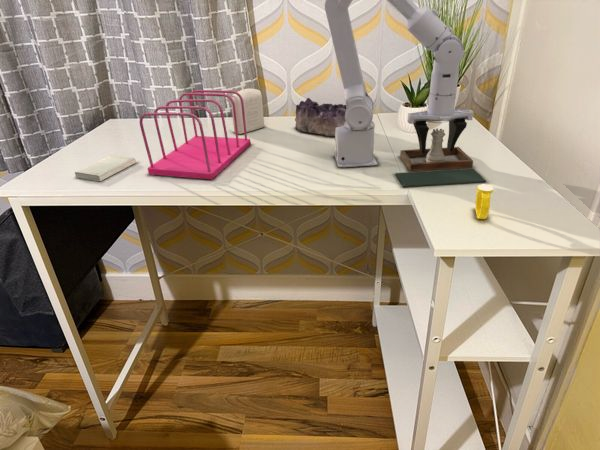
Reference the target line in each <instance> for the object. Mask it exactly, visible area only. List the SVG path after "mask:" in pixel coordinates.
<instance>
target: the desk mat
mask: <svg viewBox="0 0 600 450" xmlns="http://www.w3.org/2000/svg"><path fill="white" fill-rule="evenodd" d="M395 176H396V178H397V179H398V181H399V183H400V185H401V186H402V188H415V187H416V188H417V187H432V186H433V187H434V186H446V185H447V186H450V185H464V184H480V183H481V184H484V183H486V182H487V181H486V179H485V178H484V177H483V176H481V174H479V172H477V171H476V170H475V168H460V169H444V170H428V171H411V172H410V171H409V172H395Z"/></svg>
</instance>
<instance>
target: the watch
mask: <svg viewBox="0 0 600 450" xmlns="http://www.w3.org/2000/svg"><path fill="white" fill-rule="evenodd" d="M494 189H495V188H494V187H493V185H491V184H487V183H481V184H479V185H477V188H476V197H475V213H476V218H477V219H478V220H486V219H487V218H488V216H489V213H490V206H491V194H493V193H494Z"/></svg>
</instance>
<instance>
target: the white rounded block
mask: <svg viewBox="0 0 600 450" xmlns="http://www.w3.org/2000/svg"><path fill="white" fill-rule="evenodd" d="M237 92H238V93H239V94H240V95H241V96H242V99H243V103H244V112H245V122H246V133H250V132H252V131H256V130H259V129H262V128H264V127H265V117H264V116H265V115H264V106H263V105H264V103H263V94H262V92H261V90H259V89H257V88H244V89H241V90H238V91H237ZM230 97H231V98H232V99H233V101H234V103H235V110H236V120H237V130H238V135H242V134H244V125H243V115H242V106H241V100H240V98H239V96H238V95H236V94H234V93H232V95H230ZM230 107H231V115H232V123H233V130H234V132H235V123H234V114H233V106H232V102H231V101H230Z"/></svg>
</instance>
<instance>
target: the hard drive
mask: <svg viewBox="0 0 600 450" xmlns="http://www.w3.org/2000/svg"><path fill="white" fill-rule="evenodd" d="M136 163H137V160H136V158H135V157H133V156H132V157H131V156H126V155H125V156H123V155H115V154H112V155H109V156H107V157H105V158H103V159H100V160H99V161H96V162H94V163H91V164H90V165H88V166H86V167H83V168H81V169H79V170H77V171H75V172H74V175H75V178H77V179H83V180H88V181H95V182H102V181H103V180H105V179H107V178H109V177H111V176H113V175H115V174H117V173H119V172H120V171H123V170H126V168H129V167H131V166H132V165H134V164H136Z"/></svg>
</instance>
